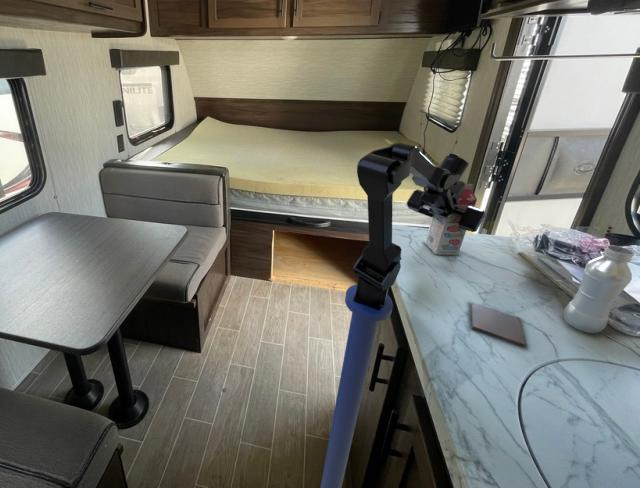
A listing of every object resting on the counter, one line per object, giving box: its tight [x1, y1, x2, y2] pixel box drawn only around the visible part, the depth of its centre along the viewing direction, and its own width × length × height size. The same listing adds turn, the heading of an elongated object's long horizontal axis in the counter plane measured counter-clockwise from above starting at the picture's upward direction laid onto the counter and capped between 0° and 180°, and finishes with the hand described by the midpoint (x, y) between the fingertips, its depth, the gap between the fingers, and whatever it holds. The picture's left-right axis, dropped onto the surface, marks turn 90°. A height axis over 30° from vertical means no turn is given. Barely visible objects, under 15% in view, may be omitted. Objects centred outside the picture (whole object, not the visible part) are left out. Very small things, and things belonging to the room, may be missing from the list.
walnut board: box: [470, 302, 526, 348], centre depth 72 cm, size 9×9×1 cm
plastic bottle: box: [562, 244, 635, 334], centre depth 68 cm, size 6×7×20 cm
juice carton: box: [424, 183, 478, 256], centre depth 97 cm, size 7×7×22 cm
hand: (447, 221), depth 97 cm, fingers open, 9 cm apart
